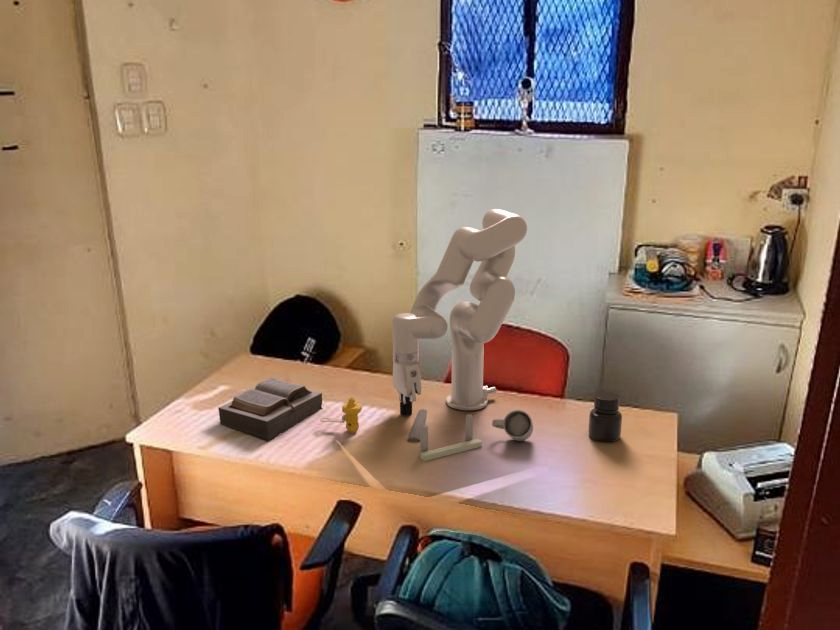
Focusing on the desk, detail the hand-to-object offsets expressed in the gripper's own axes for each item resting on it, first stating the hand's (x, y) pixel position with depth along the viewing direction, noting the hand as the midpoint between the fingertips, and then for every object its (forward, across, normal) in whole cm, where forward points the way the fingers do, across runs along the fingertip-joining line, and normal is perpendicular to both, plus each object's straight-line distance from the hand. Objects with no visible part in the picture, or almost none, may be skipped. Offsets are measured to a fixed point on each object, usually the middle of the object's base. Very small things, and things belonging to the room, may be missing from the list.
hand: (406, 414), depth 232 cm
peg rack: (+1, -24, 0) cm, 24 cm away
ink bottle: (+1, -37, -43) cm, 57 cm away
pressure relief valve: (+1, 0, +21) cm, 21 cm away
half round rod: (+2, -8, 0) cm, 8 cm away
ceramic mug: (+1, -29, -18) cm, 34 cm away
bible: (+1, +17, +35) cm, 39 cm away
